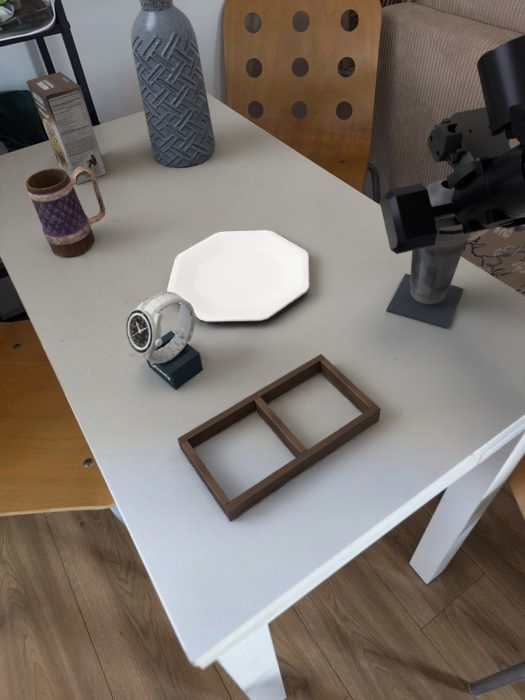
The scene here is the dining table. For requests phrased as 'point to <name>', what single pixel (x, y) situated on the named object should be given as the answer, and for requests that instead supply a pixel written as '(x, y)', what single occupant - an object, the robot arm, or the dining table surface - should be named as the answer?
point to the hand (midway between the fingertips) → (435, 223)
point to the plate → (240, 276)
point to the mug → (64, 210)
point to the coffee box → (67, 124)
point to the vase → (171, 85)
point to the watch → (165, 339)
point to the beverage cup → (437, 254)
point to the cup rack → (279, 433)
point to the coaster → (424, 305)
